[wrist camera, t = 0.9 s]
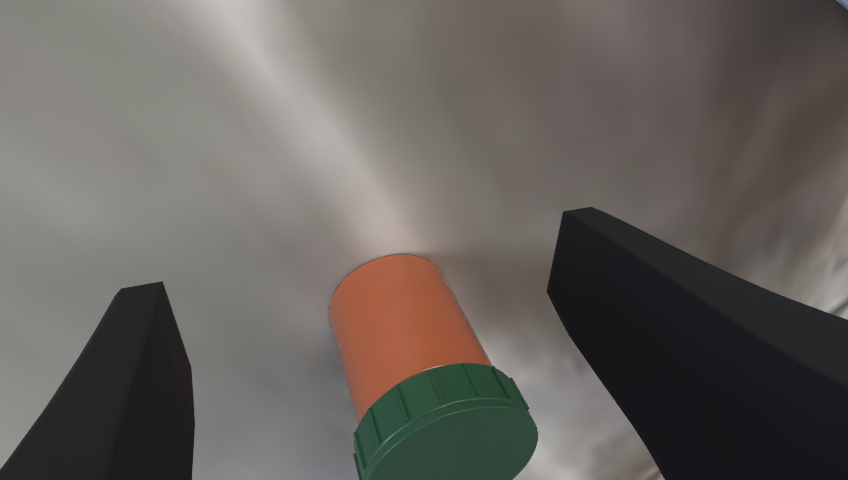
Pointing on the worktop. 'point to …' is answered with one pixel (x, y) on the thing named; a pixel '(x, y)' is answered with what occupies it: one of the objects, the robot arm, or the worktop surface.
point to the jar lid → (447, 428)
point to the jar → (397, 326)
